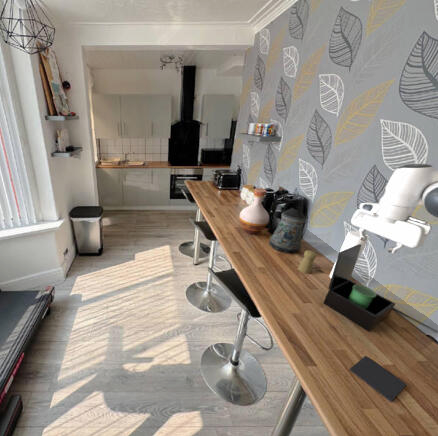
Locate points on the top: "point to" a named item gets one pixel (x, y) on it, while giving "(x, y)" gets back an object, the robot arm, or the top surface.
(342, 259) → the bin lid
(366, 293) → the pot
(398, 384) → the mat
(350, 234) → the cylindrical container
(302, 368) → the top surface
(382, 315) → the bin
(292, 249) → the beer stein
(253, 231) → the white vase
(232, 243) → the top surface
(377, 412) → the top surface
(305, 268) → the cork
